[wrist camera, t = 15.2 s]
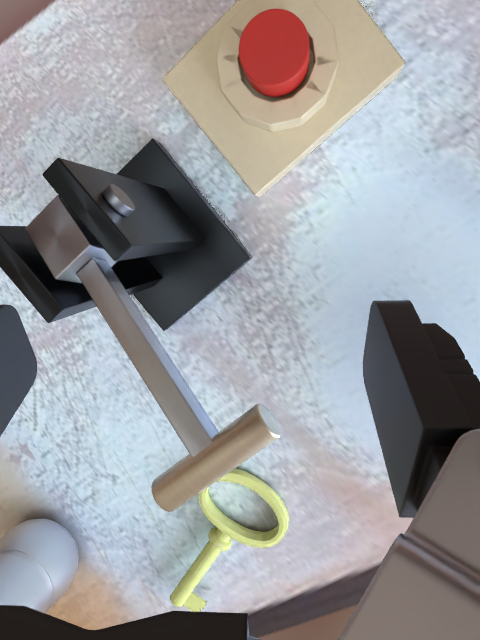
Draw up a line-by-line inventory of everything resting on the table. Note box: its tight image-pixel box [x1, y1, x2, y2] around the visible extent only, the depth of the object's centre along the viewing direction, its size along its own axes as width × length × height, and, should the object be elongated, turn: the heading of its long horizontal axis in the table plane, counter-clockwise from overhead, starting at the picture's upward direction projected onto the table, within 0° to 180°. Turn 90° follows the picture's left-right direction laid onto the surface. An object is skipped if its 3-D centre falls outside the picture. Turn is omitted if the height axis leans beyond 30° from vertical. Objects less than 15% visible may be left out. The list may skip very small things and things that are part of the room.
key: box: [170, 469, 289, 612], centre depth 34 cm, size 7×12×2 cm, turn 166°
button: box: [239, 9, 310, 97], centre depth 24 cm, size 4×4×2 cm
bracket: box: [0, 139, 252, 331], centre depth 24 cm, size 10×8×14 cm
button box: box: [162, 0, 405, 197], centre depth 26 cm, size 11×9×4 cm
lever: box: [25, 195, 281, 512], centre depth 18 cm, size 13×6×2 cm, turn 40°
